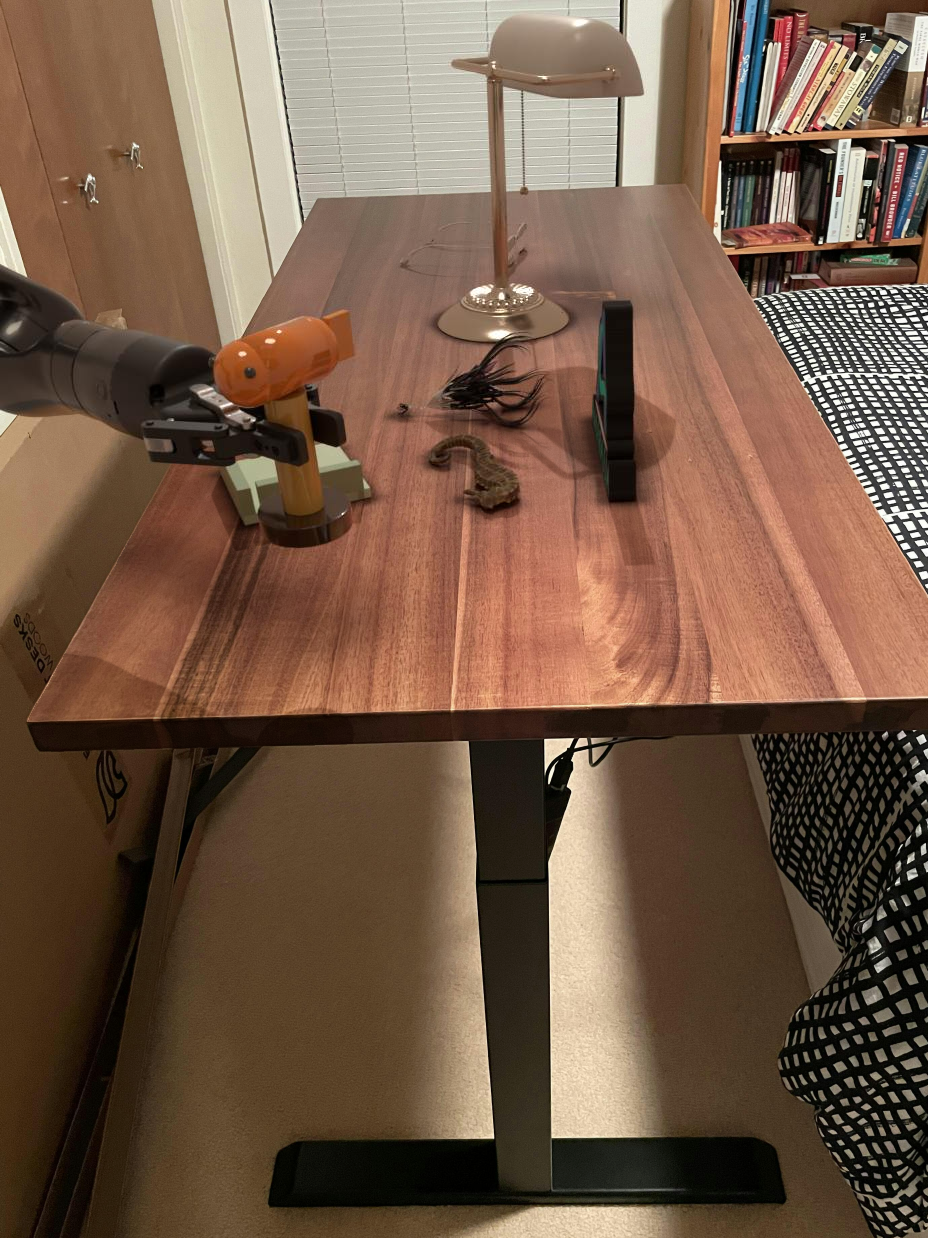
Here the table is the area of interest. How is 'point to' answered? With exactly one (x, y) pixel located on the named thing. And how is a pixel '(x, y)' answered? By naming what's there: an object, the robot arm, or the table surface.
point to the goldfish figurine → (291, 418)
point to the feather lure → (484, 387)
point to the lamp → (541, 64)
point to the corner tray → (260, 481)
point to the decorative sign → (616, 400)
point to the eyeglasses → (510, 245)
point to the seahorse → (481, 470)
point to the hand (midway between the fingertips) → (321, 440)
